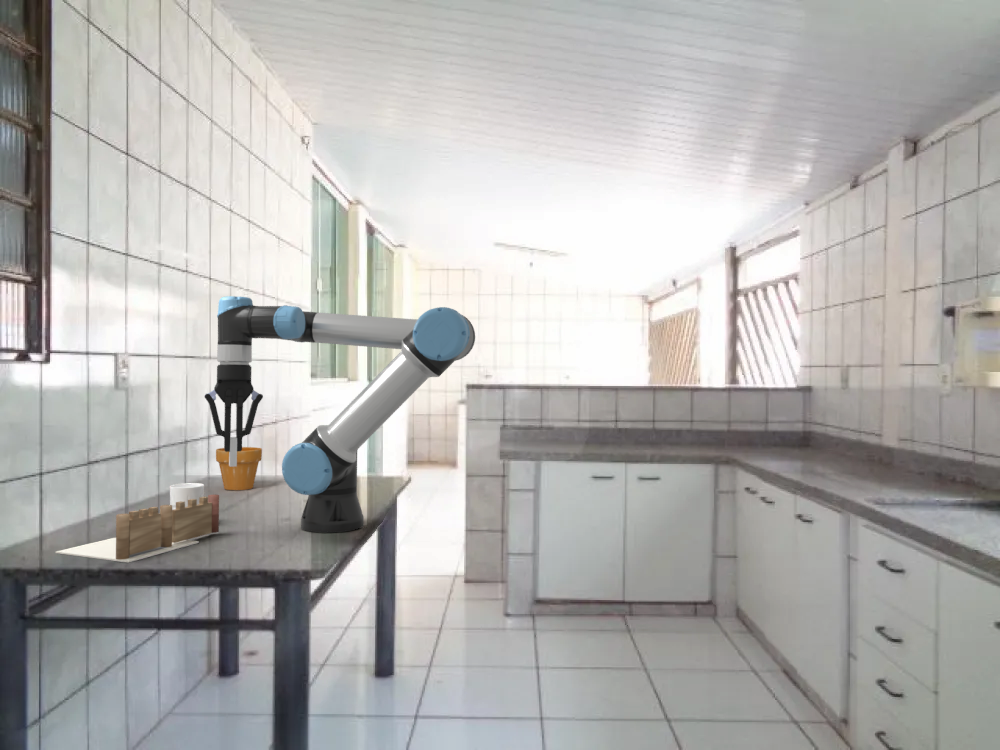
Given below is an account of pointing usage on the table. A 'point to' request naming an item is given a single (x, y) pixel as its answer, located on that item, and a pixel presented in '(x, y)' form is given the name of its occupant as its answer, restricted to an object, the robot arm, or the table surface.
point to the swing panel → (195, 518)
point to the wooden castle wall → (143, 530)
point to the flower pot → (239, 468)
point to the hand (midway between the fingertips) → (232, 465)
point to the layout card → (108, 550)
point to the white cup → (185, 493)
